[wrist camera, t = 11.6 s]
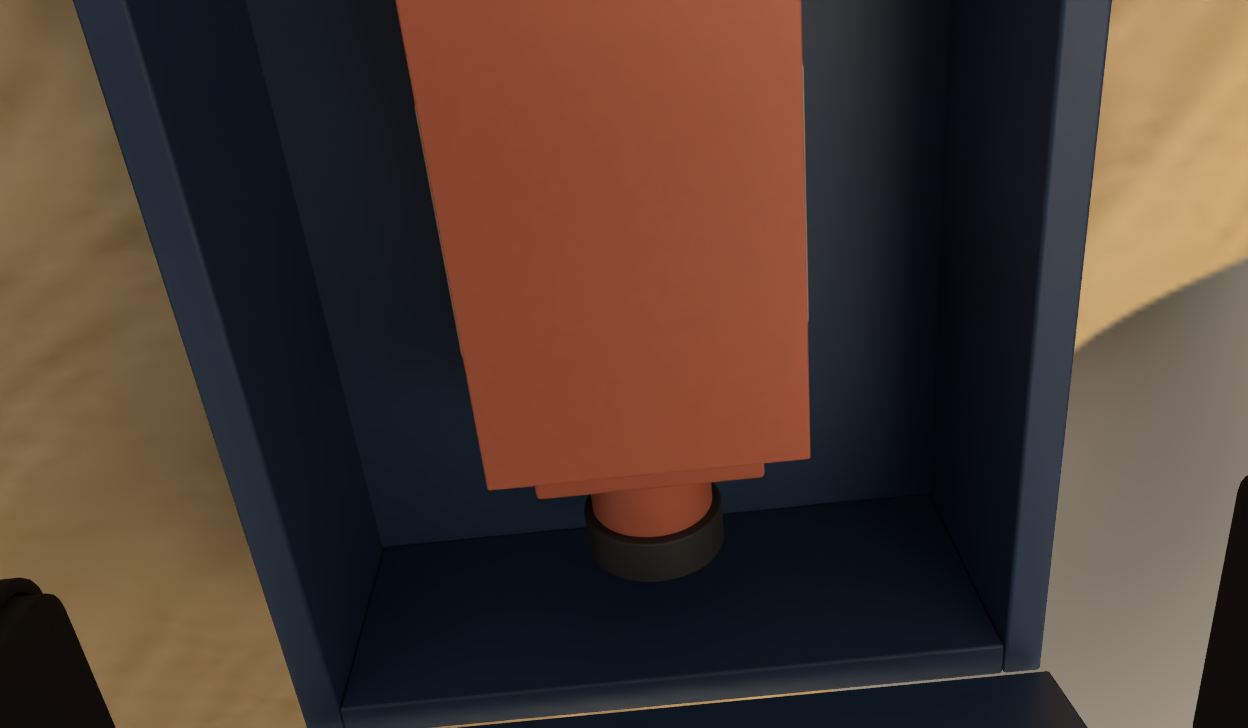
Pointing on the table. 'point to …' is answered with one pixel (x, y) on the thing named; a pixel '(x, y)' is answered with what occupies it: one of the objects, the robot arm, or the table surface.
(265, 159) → the dark blue open box
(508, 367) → the orange juice carton
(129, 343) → the table surface
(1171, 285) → the table surface
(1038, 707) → the lid
